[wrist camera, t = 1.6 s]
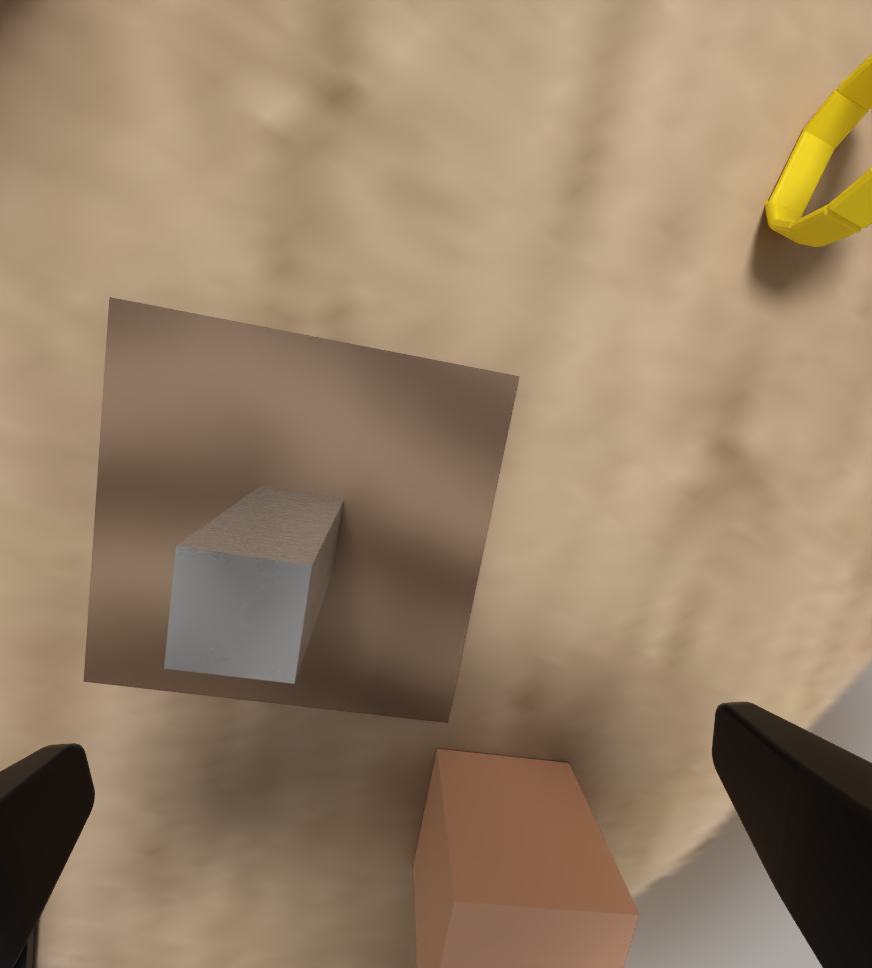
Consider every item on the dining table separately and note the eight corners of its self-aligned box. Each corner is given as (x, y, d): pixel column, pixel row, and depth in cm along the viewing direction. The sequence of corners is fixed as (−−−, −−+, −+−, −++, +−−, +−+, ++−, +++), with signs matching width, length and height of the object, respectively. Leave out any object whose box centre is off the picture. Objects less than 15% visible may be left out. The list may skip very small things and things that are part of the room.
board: (445, 707, 21) (447, 722, 20) (99, 666, 20) (83, 681, 19) (513, 377, 19) (519, 376, 18) (125, 302, 17) (109, 297, 16)
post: (331, 576, 19) (294, 683, 12) (250, 564, 18) (163, 668, 12) (343, 499, 18) (311, 565, 11) (259, 486, 18) (176, 546, 11)
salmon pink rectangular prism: (540, 875, 23) (595, 1061, 17) (413, 865, 23) (419, 1055, 16) (569, 763, 22) (639, 915, 16) (437, 748, 22) (454, 901, 15)
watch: (785, 269, 19) (943, 233, 14) (724, 238, 19) (862, 186, 13) (874, 106, 18) (1091, -10, 12) (812, 69, 18) (1006, -70, 12)
